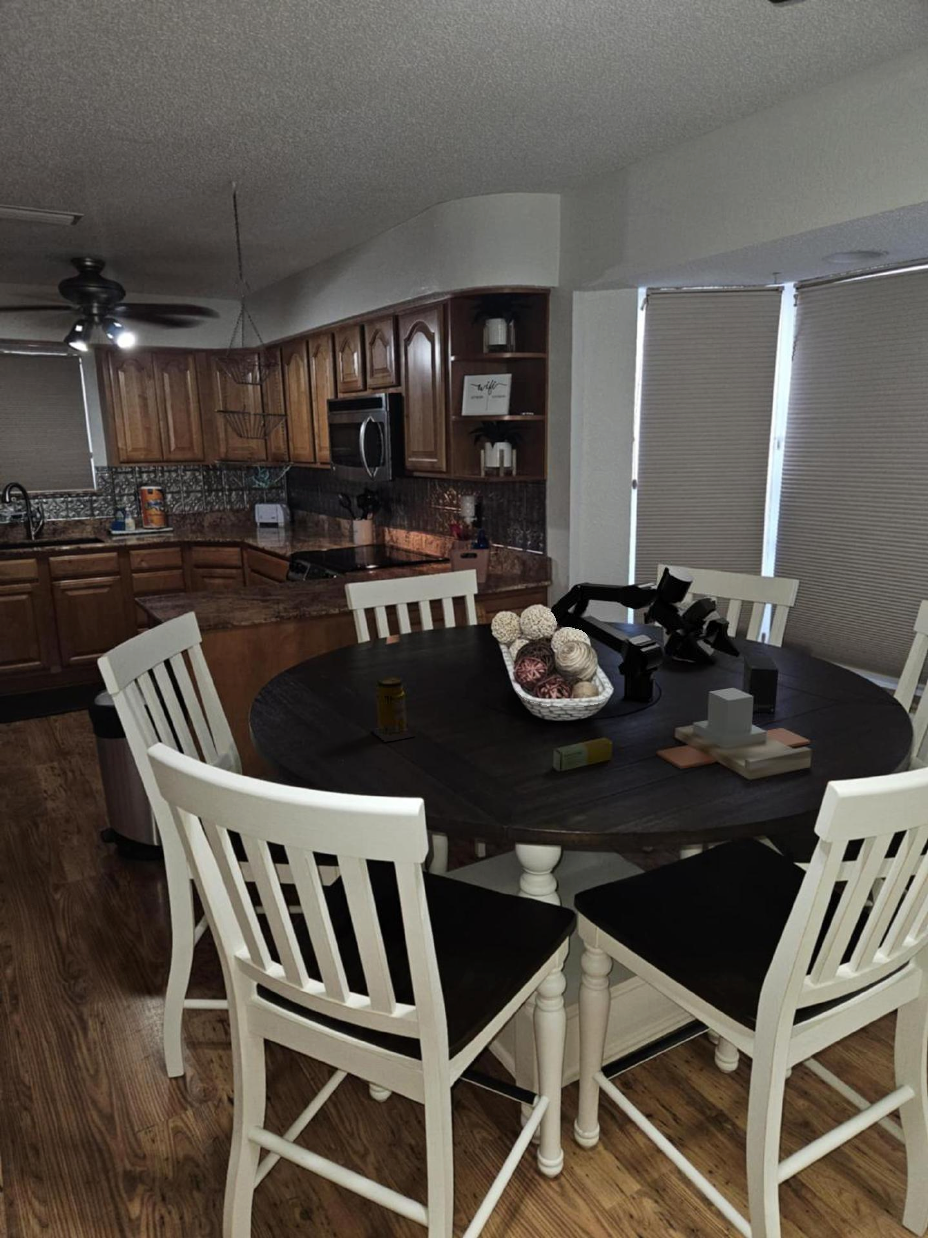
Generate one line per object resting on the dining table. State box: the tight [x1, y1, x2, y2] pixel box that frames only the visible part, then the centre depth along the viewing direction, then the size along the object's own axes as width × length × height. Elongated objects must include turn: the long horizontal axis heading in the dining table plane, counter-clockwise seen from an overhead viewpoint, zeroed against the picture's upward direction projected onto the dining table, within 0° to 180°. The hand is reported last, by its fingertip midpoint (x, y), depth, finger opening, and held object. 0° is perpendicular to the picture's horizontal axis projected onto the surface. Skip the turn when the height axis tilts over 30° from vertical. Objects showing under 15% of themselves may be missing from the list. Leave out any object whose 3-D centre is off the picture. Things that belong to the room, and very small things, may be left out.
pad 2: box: [766, 727, 811, 748], centre depth 162 cm, size 8×8×1 cm
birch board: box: [674, 724, 812, 781], centre depth 157 cm, size 23×14×4 cm, turn 20°
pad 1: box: [656, 744, 717, 770], centre depth 155 cm, size 8×8×1 cm
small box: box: [741, 655, 779, 714], centre depth 182 cm, size 11×6×10 cm, turn 168°
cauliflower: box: [662, 600, 721, 663], centre depth 222 cm, size 20×18×16 cm
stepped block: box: [692, 687, 767, 749], centre depth 159 cm, size 10×10×9 cm
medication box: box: [552, 737, 613, 773], centre depth 153 cm, size 12×3×4 cm, turn 114°
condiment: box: [376, 677, 407, 735], centre depth 170 cm, size 7×8×12 cm
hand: (727, 659), depth 170 cm, fingers open, 9 cm apart
